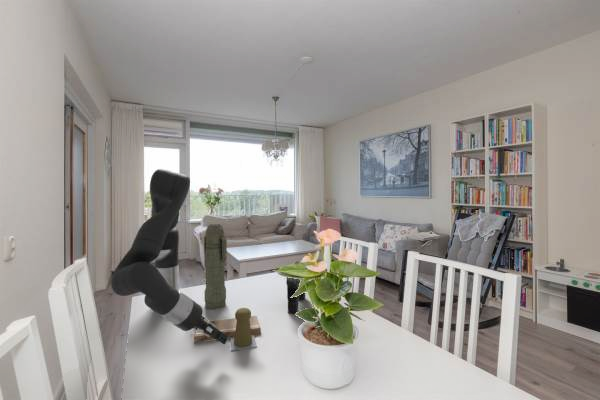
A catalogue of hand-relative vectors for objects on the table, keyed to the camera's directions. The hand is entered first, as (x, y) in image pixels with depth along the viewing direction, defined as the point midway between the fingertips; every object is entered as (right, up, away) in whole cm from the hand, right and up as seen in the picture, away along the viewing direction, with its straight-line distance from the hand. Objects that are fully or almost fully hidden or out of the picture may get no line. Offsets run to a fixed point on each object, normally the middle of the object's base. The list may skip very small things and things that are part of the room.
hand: (218, 335), depth 89 cm
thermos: (-12, -4, +37) cm, 39 cm away
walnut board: (-1, -5, +15) cm, 16 cm away
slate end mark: (+6, -5, +7) cm, 11 cm away
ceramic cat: (+23, -4, +37) cm, 44 cm away
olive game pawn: (+6, -5, +7) cm, 11 cm away
